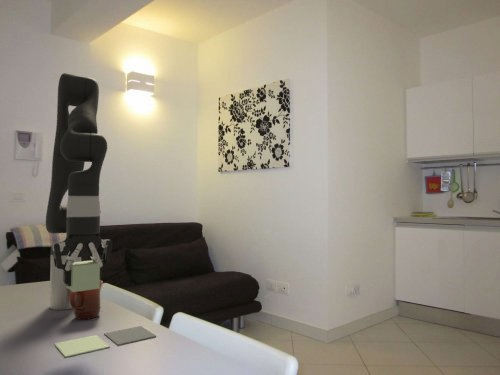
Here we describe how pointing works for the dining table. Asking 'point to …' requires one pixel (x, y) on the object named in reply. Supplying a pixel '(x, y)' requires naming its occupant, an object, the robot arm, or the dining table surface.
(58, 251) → the robot arm
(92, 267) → the pale green cube
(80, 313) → the mug
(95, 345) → the sage pad
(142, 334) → the grey pad
